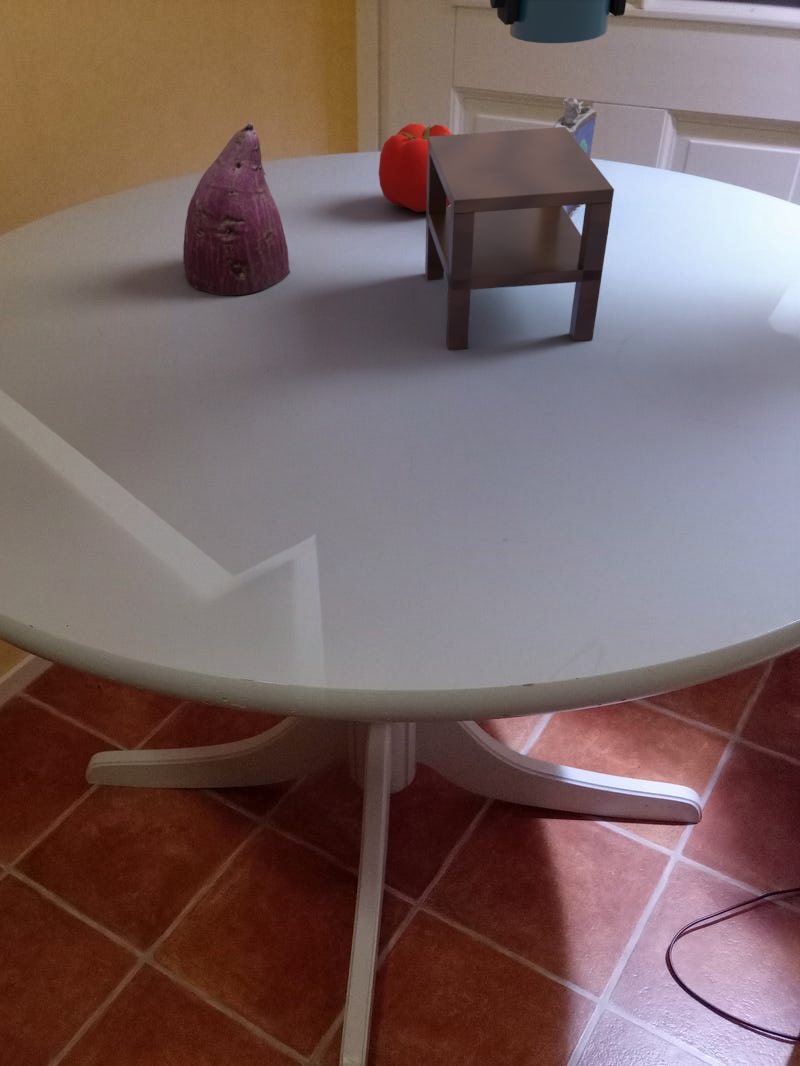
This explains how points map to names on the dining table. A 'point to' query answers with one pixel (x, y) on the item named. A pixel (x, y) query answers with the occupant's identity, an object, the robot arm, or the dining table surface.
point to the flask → (578, 129)
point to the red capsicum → (407, 166)
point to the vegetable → (235, 224)
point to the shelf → (514, 219)
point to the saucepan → (560, 20)
